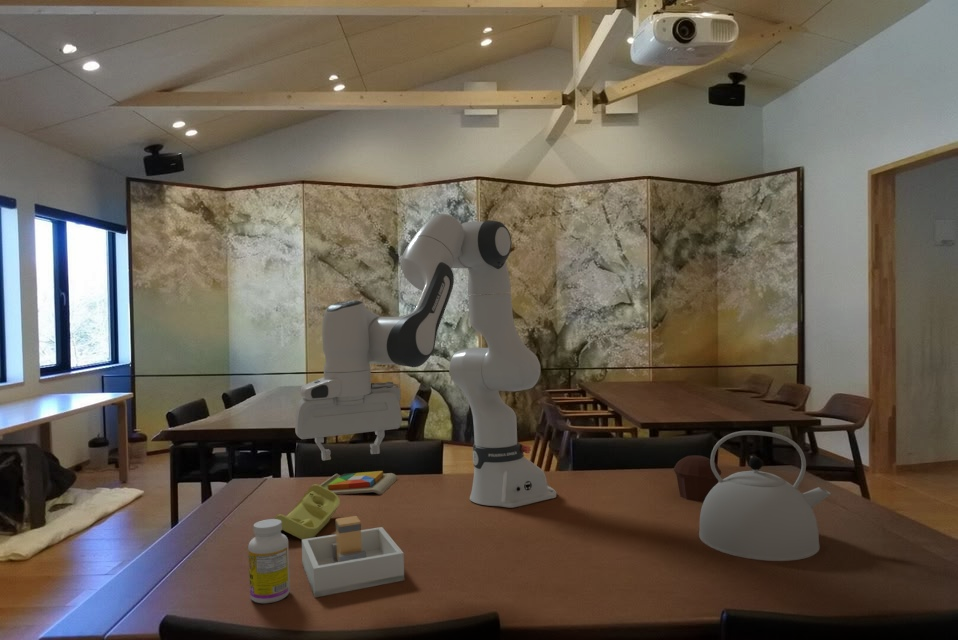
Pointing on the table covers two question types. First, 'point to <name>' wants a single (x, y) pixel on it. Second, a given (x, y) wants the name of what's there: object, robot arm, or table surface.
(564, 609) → the table surface
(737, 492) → the kettle
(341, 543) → the tan tall block
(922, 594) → the table surface
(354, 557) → the walled box
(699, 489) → the muffin
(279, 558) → the supplement bottle
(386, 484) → the wooden puzzle
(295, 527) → the plastic component
